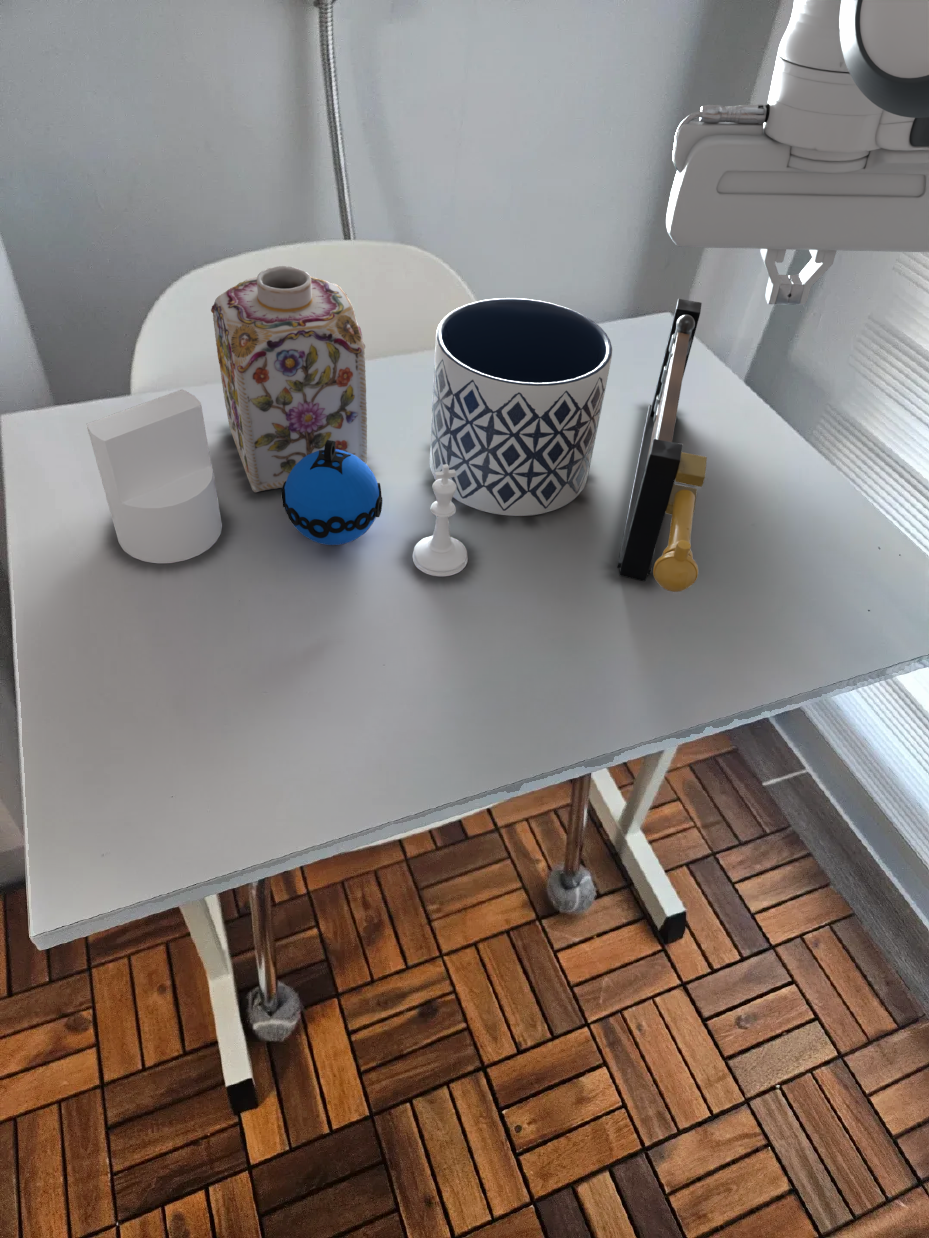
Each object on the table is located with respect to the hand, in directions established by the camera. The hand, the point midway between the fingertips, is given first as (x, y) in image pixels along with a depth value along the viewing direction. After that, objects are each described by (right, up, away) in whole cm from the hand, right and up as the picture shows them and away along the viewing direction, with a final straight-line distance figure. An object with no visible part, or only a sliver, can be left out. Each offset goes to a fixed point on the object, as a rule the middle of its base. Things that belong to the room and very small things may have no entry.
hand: (784, 301), depth 70 cm
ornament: (-37, -18, +11) cm, 42 cm away
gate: (-7, -11, +18) cm, 22 cm away
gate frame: (-6, -12, +19) cm, 23 cm away
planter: (-21, -10, +19) cm, 30 cm away
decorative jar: (-42, -8, +19) cm, 47 cm away
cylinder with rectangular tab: (-52, -17, +10) cm, 55 cm away
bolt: (-9, -20, -1) cm, 22 cm away
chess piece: (-28, -20, +9) cm, 35 cm away
